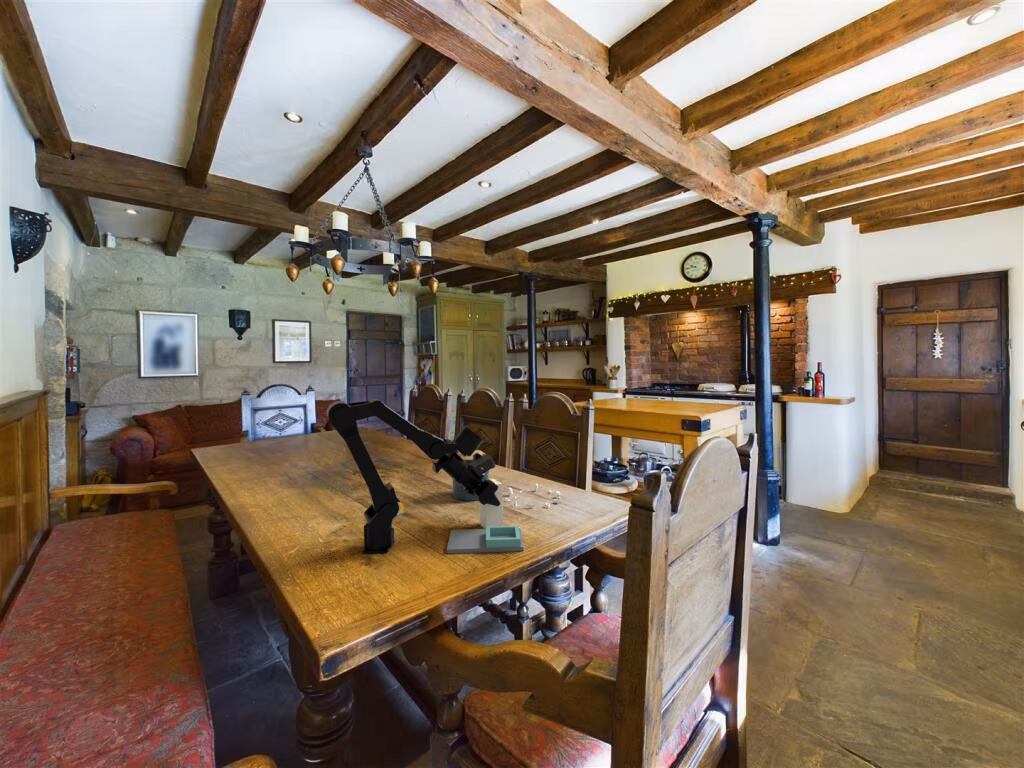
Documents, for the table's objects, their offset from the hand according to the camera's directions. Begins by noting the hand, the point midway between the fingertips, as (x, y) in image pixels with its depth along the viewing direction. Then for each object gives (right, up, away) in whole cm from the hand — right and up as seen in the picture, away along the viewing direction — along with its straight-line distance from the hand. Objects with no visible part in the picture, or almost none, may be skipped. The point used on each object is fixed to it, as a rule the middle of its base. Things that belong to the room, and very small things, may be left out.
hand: (495, 502), depth 123 cm
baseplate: (-2, -7, -11) cm, 14 cm away
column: (-1, -7, 0) cm, 7 cm away
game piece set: (+12, -6, +22) cm, 26 cm away
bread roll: (-33, -7, +11) cm, 36 cm away
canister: (-10, -5, +27) cm, 29 cm away
